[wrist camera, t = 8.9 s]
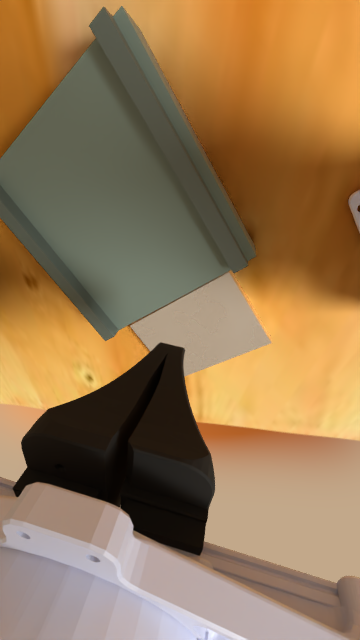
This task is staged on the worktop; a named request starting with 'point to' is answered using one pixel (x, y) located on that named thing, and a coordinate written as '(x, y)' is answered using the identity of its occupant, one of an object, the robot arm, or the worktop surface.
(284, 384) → the worktop surface
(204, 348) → the cover plate
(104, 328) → the case
